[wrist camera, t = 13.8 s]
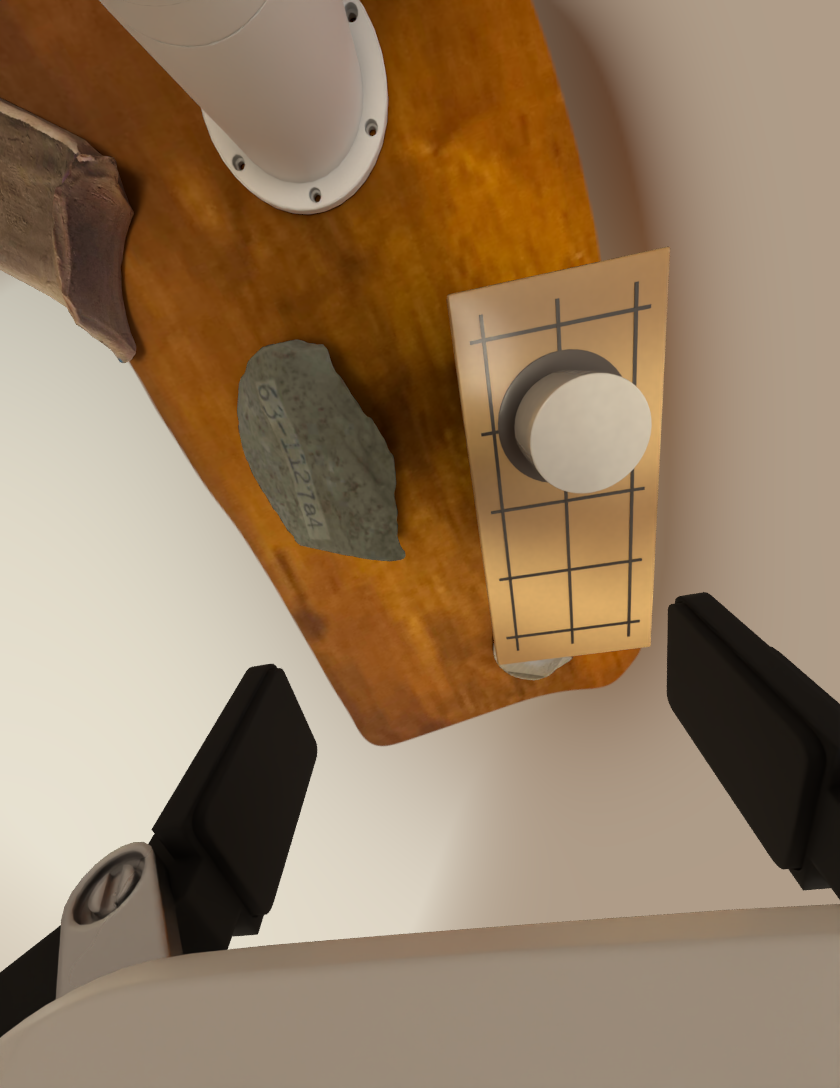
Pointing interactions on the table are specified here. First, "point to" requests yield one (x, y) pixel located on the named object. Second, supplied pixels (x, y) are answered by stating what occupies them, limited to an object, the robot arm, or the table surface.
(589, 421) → the off-white cylinder
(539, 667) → the seashell
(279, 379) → the stone
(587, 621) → the game board
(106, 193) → the fragment
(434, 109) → the table surface
